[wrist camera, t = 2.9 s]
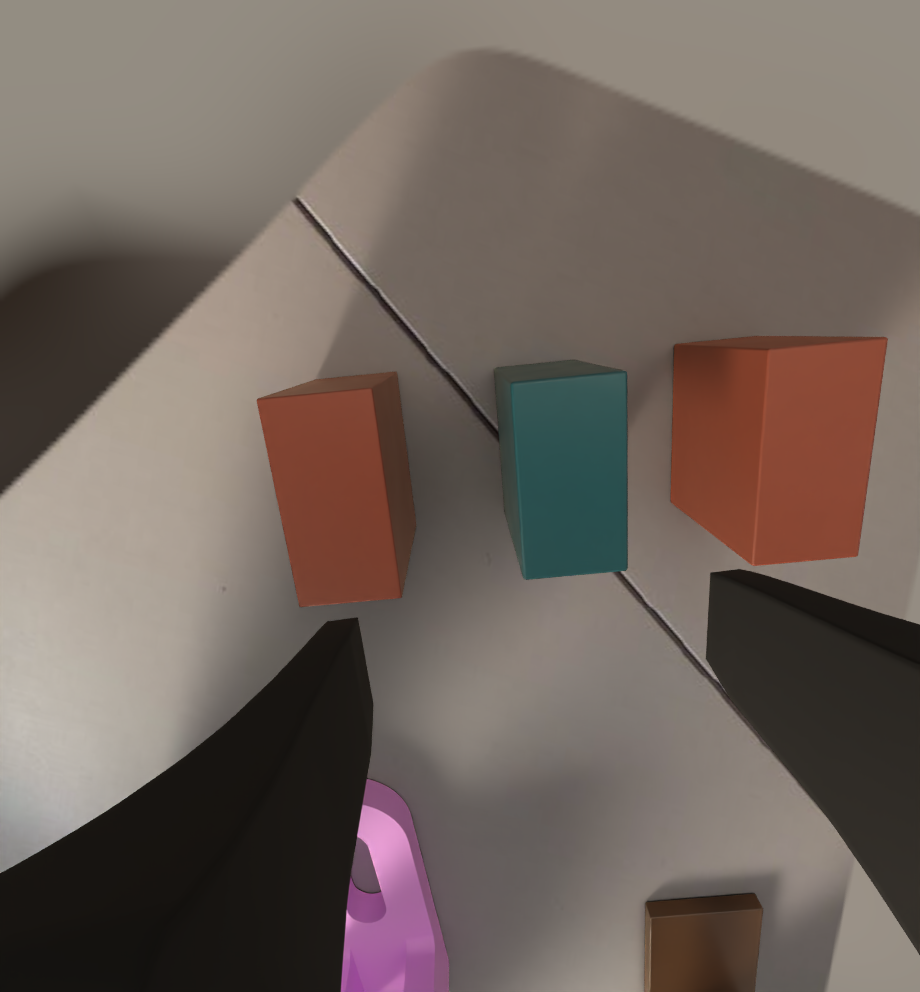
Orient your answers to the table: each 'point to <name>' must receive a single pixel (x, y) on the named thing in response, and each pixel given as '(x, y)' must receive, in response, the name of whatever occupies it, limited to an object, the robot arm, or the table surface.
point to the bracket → (392, 908)
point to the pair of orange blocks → (694, 472)
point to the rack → (702, 944)
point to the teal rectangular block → (564, 466)
